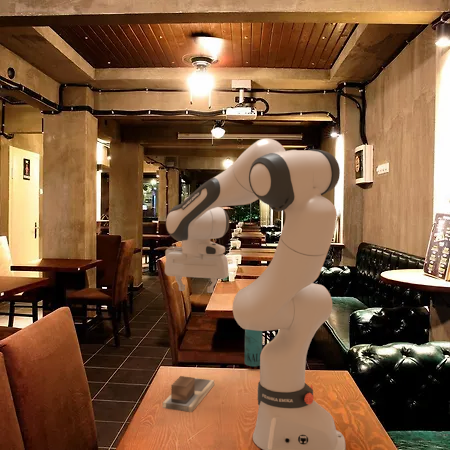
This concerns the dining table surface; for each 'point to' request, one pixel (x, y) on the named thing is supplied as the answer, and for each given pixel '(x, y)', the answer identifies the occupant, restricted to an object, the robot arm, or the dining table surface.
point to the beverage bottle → (253, 347)
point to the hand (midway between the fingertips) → (196, 291)
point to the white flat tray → (200, 392)
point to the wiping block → (182, 389)
